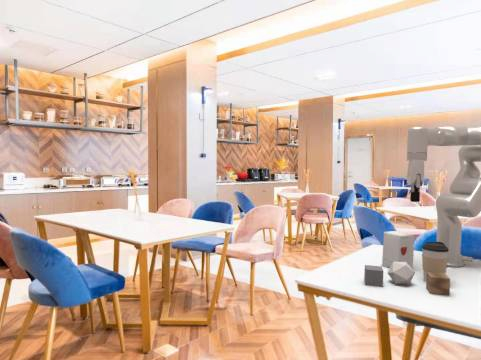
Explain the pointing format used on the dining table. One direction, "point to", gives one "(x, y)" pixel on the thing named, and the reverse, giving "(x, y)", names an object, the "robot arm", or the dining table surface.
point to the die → (401, 273)
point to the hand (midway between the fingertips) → (414, 201)
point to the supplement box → (398, 248)
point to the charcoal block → (373, 276)
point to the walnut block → (438, 284)
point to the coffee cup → (434, 258)
